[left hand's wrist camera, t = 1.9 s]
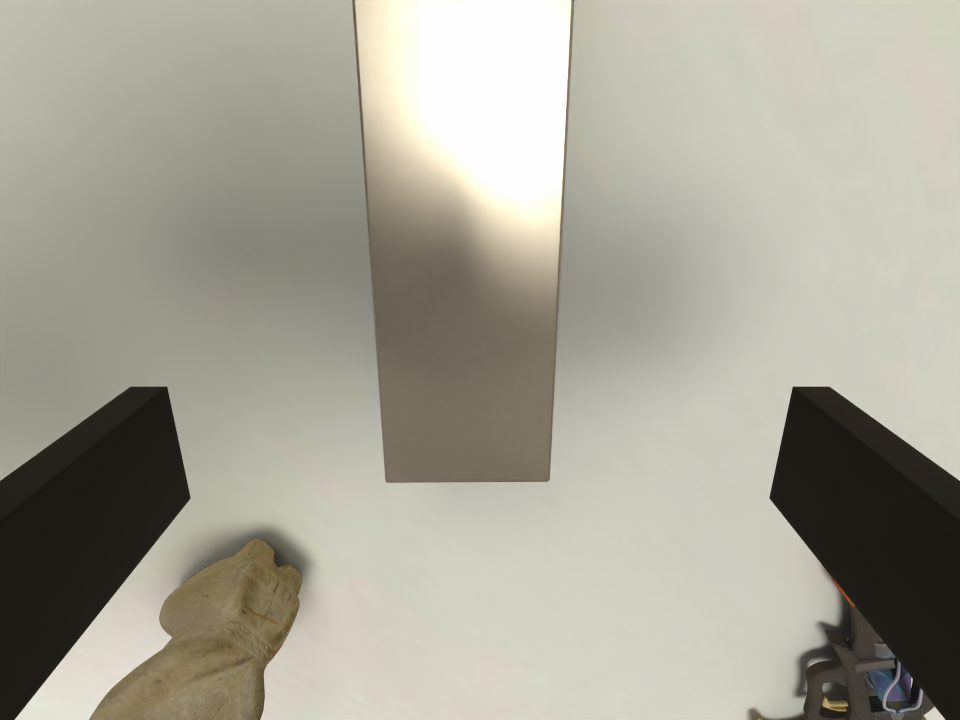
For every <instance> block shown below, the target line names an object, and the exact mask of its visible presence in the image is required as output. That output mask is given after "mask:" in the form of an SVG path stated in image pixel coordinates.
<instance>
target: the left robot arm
mask: <svg viewBox="0 0 960 720" xmlns="http://www.w3.org/2000/svg"><path fill="white" fill-rule="evenodd" d="M189 500H190V493H189V489H188V484H187V479H186V474H185V470H184V465H183V460H182V455H181V450H180V446H179V441H178V436H177V431H176V427H175V422H174V417H173V412H172V408H171V403H170V398H169V393H168V389H167V387H130V388H128V389H127V390H125V391H124V392H123V393H121V394H120V395H119V396H117V397H116V398H114V399H113V400H112V401H110V402H109V403H107V404H106V405H105V406H103V407H102V408H101V409H99V410H98V411H96V412H95V413H94V414H92V415H91V416H89V417H88V418H87V419H85V420H84V421H83V422H81V423H80V424H78V425H77V426H76V427H74V428H73V429H72V430H70V431H69V432H67V433H66V434H65V435H63V436H62V437H60V438H59V439H58V440H56V441H55V442H54V443H52V444H51V445H49V446H48V447H47V448H45V449H44V450H42V451H41V452H40V453H38V454H37V455H36V456H34V457H33V458H31V459H30V460H29V461H27V462H26V463H24V464H23V465H22V466H20V467H19V468H18V469H16V470H15V471H13V472H12V473H11V474H9V475H8V476H6V477H5V478H4V479H2V480H1V481H0V720H15V718H16V717H17V716H18V715H19V713H20V712H21V711H22V710H23V708H24V707H25V706H26V705H27V703H28V702H29V701H30V700H31V698H32V697H33V696H34V694H35V693H36V692H37V691H38V689H39V688H40V687H41V686H42V684H43V683H44V682H45V681H46V679H47V678H48V677H49V676H50V674H51V673H52V672H53V671H54V669H55V668H56V667H57V666H58V664H59V663H60V662H61V661H62V659H63V658H64V657H65V655H66V654H67V653H68V652H69V650H70V649H71V648H72V647H73V645H74V644H75V643H76V642H77V640H78V639H79V638H80V637H81V635H82V634H83V633H84V632H85V630H86V629H87V628H88V627H89V625H90V624H91V623H92V622H93V620H94V619H95V618H96V617H97V615H98V614H99V613H100V611H101V610H102V609H103V608H104V606H105V605H106V604H107V603H108V601H109V600H110V599H111V598H112V596H113V595H114V594H115V593H116V591H117V590H118V589H119V588H120V586H121V585H122V584H123V583H124V581H125V580H126V579H127V578H128V576H129V575H130V574H131V572H132V571H133V570H134V569H135V567H136V566H137V565H138V564H139V562H140V561H141V560H142V559H143V557H144V556H145V555H146V554H147V552H148V551H149V550H150V549H151V547H152V546H153V545H154V544H155V542H156V541H157V540H158V539H159V537H160V536H161V535H162V533H163V532H164V531H165V530H166V528H167V527H168V526H169V525H170V523H171V522H172V521H173V520H174V518H175V517H176V516H177V515H178V513H179V512H180V511H181V510H182V508H183V507H184V506H185V505H186V503H187V502H188V501H189ZM770 500H771V501H772V502H773V503H774V505H775V506H776V507H777V508H778V510H779V511H780V512H781V513H782V515H783V516H784V517H785V518H786V520H787V521H788V522H789V523H790V525H791V526H792V527H793V528H794V530H795V531H796V532H797V533H798V535H799V536H800V537H801V539H802V540H803V541H804V542H805V544H806V545H807V546H808V547H809V549H810V550H811V551H812V552H813V554H814V555H815V556H816V557H817V559H818V560H819V561H820V562H821V564H822V565H823V566H824V567H825V569H826V570H827V571H828V572H829V574H830V575H831V576H832V578H833V579H834V580H835V581H836V583H837V584H838V585H839V586H840V588H841V589H842V590H843V591H844V593H845V594H846V595H847V596H848V598H849V599H850V600H851V601H852V603H853V604H854V605H855V606H856V608H857V609H858V610H859V611H860V613H861V614H862V615H863V617H864V618H865V619H866V620H867V622H868V623H869V624H870V625H871V627H872V628H873V629H874V630H875V632H876V633H877V634H878V635H879V637H880V638H881V639H882V640H883V642H884V643H885V644H886V645H887V647H888V648H889V649H890V650H891V652H892V653H893V654H894V655H895V657H896V658H897V659H898V661H899V662H900V663H901V664H902V666H903V667H904V668H905V669H906V671H907V672H908V673H909V674H910V676H911V677H912V678H913V679H914V681H915V682H916V683H917V684H918V686H919V687H920V688H921V689H922V691H923V692H924V693H925V694H926V696H927V697H928V698H929V700H930V701H931V702H932V703H933V705H934V706H935V707H936V708H937V710H938V711H939V712H940V713H941V715H942V716H943V717H944V718H945V720H960V481H959V480H958V479H956V478H955V477H954V476H952V475H951V474H949V473H948V472H947V471H945V470H944V469H942V468H941V467H940V466H938V465H937V464H936V463H934V462H933V461H931V460H930V459H929V458H927V457H926V456H924V455H923V454H922V453H920V452H919V451H918V450H916V449H915V448H913V447H912V446H911V445H909V444H908V443H906V442H905V441H904V440H902V439H901V438H900V437H898V436H897V435H895V434H894V433H893V432H891V431H890V430H888V429H887V428H886V427H884V426H883V425H882V424H880V423H879V422H877V421H876V420H875V419H873V418H872V417H871V416H869V415H868V414H866V413H865V412H864V411H862V410H861V409H859V408H858V407H857V406H855V405H854V404H853V403H851V402H850V401H848V400H847V399H846V398H844V397H843V396H841V395H840V394H839V393H837V392H836V391H835V390H833V389H832V388H830V387H793V389H792V393H791V398H790V403H789V408H788V412H787V417H786V422H785V427H784V431H783V436H782V441H781V446H780V450H779V455H778V460H777V465H776V470H775V474H774V479H773V484H772V489H771V493H770Z"/></svg>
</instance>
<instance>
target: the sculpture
mask: <svg viewBox="0 0 960 720" xmlns="http://www.w3.org/2000/svg"><path fill="white" fill-rule="evenodd" d="M301 583H302V575H300V573H299V572H298V571H297V570H296V569H295V568H294V567H293V566H291V565H289V564H283V565H281V566H279V567H277V566H276V565H275V562H274V550H273V549H272V548H271V547H270V546H269V545H268V544H266V543H265V542H263V541H262V540H260V539H258V538H256V539H253V540H251V541H250V542H248V543H246V544H245V545H244V547H243V548H242V550H240V551H239V552H238V553H236V554H235V555H233V556H231V557H228V558H225V559H222V560H219V561H217V562H215V563H213V564H211V565H209V566H208V567H206V568H204V569H203V570H201V571H199V572H198V573H196V574H195V575H193V576H192V577H190V578H189V579H187V580H186V581H185V582H184V583H183V584H182V585H180V586H179V587H178V588H177V589H176V590H175V591H174V592H173V593H172V594H171V595H170V596H169V597H168V598H167V599H166V600H165V602H164V604H163V606H162V609H161V612H160V616H159V620H160V624H161V626H162V628H163V629H164V630H165V631H166V632H167V633H168V634H169V635H171V636H172V637H173V638H172V639H171V640H170V641H169V643H168V644H167V645H166V646H165V647H164V648H163V649H162V650H161V651H159V652H158V653H156V654H155V655H153V656H152V657H151V658H149V659H148V660H146V661H145V662H144V663H142V664H141V665H139V666H138V667H137V668H135V669H134V670H133V671H132V672H131V673H129V674H128V675H127V676H126V677H124V678H123V679H122V680H121V681H120V682H119V683H117V684H116V685H115V686H114V687H113V688H112V689H111V690H110V691H109V692H108V693H107V694H106V696H105V697H104V698H103V700H102V701H101V702H100V704H99V705H98V707H97V708H96V710H95V711H94V713H93V714H92V716H91V718H90V719H89V720H260V719H261V716H262V713H263V708H264V698H265V692H264V670H265V668H266V666H267V664H268V663H269V662H270V661H271V660H272V659H273V657H274V656H275V655H276V653H277V652H278V651H279V649H280V648H281V646H282V644H283V643H284V641H285V639H286V637H287V636H288V633H289V631H290V629H291V627H292V625H293V622H294V620H295V617H296V615H297V612H298V609H299V605H300V604H299V599H298V593H299V590H300V586H301Z"/></svg>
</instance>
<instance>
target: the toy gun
mask: <svg viewBox="0 0 960 720" xmlns="http://www.w3.org/2000/svg"><path fill="white" fill-rule="evenodd" d="M831 578H832V576H831ZM832 580H833V582H834V583H835V585H836V586H837V588H838V589H839V590H840V592H841V593H842V594H843V595H844V597H845V598H846V599H847V600H848V602H849V607H850V614H851V634H850V637H849V640H848V642H847V640H846V639H845V638H844V637H842V636H840V635H838V634H836V633H833V632H831V631H828V630H825V633H826V635H827V637H828V639H829V640H830V642H831V644H832V646H833V647H834V649H835V651H836V654H837V657H836V658H835V659H833V660H831V661H822V662H818V663H816V664H814V665H812V666H810V667H809V668H808V669H807V670H806V678H807V685H808V688H807V696H806V700H805V704H804V708H803V709H804V712H805V715H806V717H807V719H808V720H926V718H925V717H924V716H923V715H924V714H926V713H927V712H929V711H930V710H931V709H932V708H933V707H935V706H934V705H933V703H932V702H931V701H930V700H929V698H928V697H927V696H926V694H925V693H924V692H923V691H922V689H921V688H920V687H919V686H918V684H917V683H916V682H915V681H914V679H913V683H912V687H911V676H910V674H909V673H908V672H907V671H906V669H905V668H904V667H903V666H902V664H901V663H900V662H899V661H898V659H897V658H896V657H895V655H894V654H893V653H892V652H891V650H890V649H889V648H888V647H887V645H886V644H885V643H884V642H883V640H882V639H881V638H880V637H879V635H878V634H877V633H876V632H875V630H874V629H873V628H872V627H871V625H870V624H869V623H868V622H867V620H866V619H865V618H864V617H863V615H862V614H861V613H860V611H859V610H858V609H857V608H856V606H855V605H854V604H853V603H852V601H851V600H850V599H849V598H848V596H847V595H846V594H845V593H844V591H843V590H842V589H841V588H840V586H839V585H838V584H837V583H836V581H835V580H834V579H833V578H832ZM864 672H867V673H868V676H869V678H870V680H871V682H872V684H873V685H872V684H871V683H870V681H869V680H868V678H867V677H866V675H865V673H864ZM865 680H866V681H865ZM827 682H835V683H839V684H842V685H843V691H844V701H828V700H827V698H826V696H825V695H824V696H823V697H822V695H823V693H822V685H823V684H824V683H827ZM866 682H867V683H868V684H869V685H870V686H871V687H872V688H873V689H874V690H875V691H876V693H877V695H878V696H871V697H869V696H868V690H867V685H866ZM821 704H822V706H823V707H825V708H828V709H823V708H820V707H821ZM757 720H762V719H761V718H758V719H757Z"/></svg>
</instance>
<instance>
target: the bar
mask: <svg viewBox="0 0 960 720" xmlns="http://www.w3.org/2000/svg"><path fill="white" fill-rule="evenodd" d="M352 4H353V19H354V33H355V48H356V62H357V77H358V91H359V105H360V120H361V134H362V149H363V163H364V178H365V192H366V207H367V221H368V235H369V250H370V264H371V279H372V293H373V308H374V322H375V337H376V351H377V365H378V380H379V394H380V409H381V423H382V438H383V452H384V466H385V480H386V482H388V483H396V482H547V481H549V479H550V464H551V445H552V425H553V406H554V386H555V366H556V347H557V327H558V308H559V288H560V269H561V249H562V230H563V210H564V191H565V171H566V151H567V132H568V112H569V93H570V73H571V54H572V34H573V15H574V0H352Z"/></svg>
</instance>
